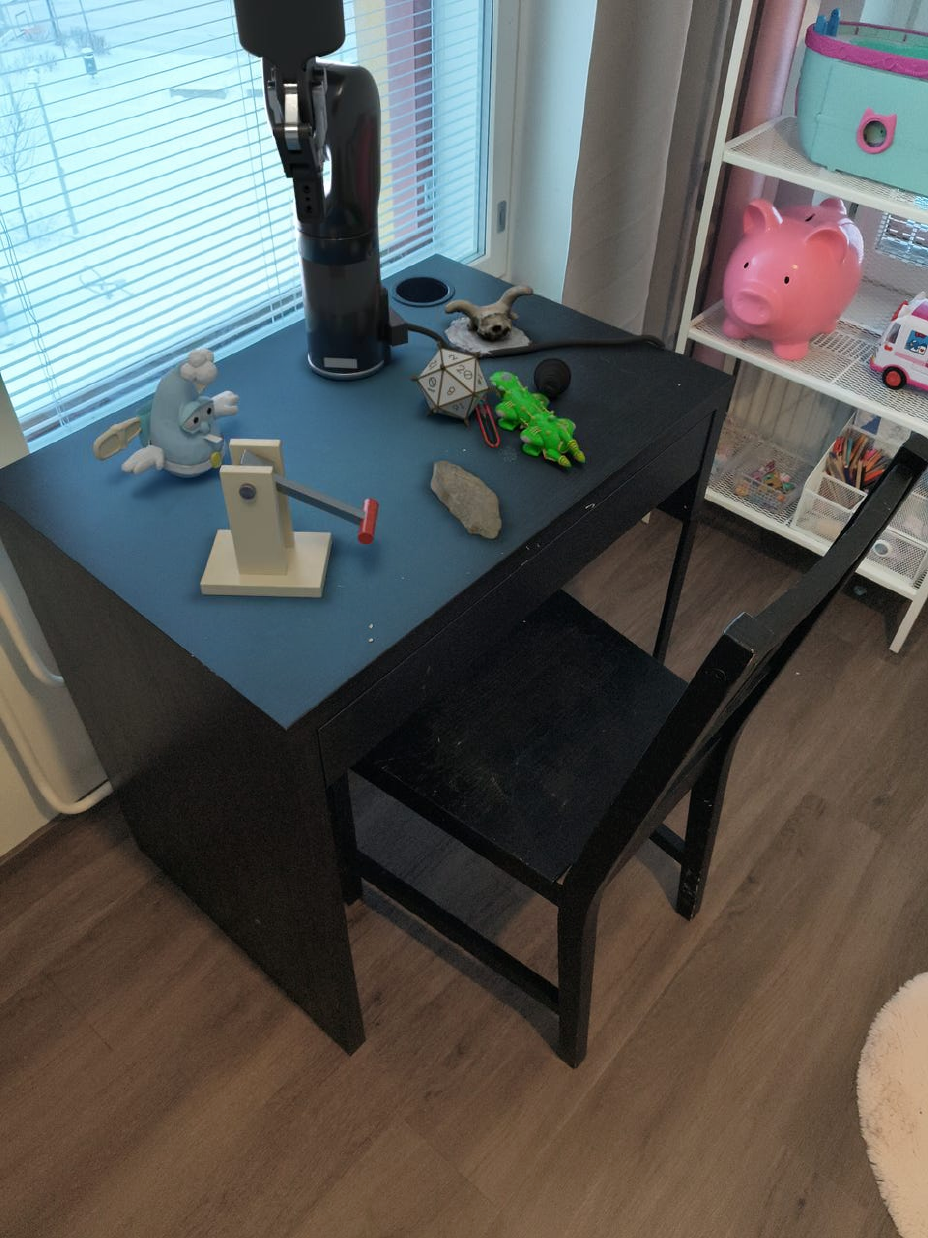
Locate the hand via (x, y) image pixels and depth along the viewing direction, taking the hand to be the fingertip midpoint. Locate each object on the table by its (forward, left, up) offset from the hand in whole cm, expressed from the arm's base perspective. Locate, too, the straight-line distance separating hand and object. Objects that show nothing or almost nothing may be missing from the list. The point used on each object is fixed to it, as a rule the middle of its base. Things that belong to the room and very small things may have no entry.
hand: (312, 218), depth 80 cm
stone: (-10, +4, -29) cm, 31 cm away
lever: (+6, +7, -22) cm, 24 cm away
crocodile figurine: (-25, -3, -30) cm, 39 cm away
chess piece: (-31, -10, -28) cm, 43 cm away
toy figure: (+11, -14, -30) cm, 35 cm away
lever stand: (+9, +5, -30) cm, 32 cm away
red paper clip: (-22, -10, -29) cm, 38 cm away
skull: (-31, -24, -30) cm, 49 cm away
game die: (-19, -11, -30) cm, 37 cm away
